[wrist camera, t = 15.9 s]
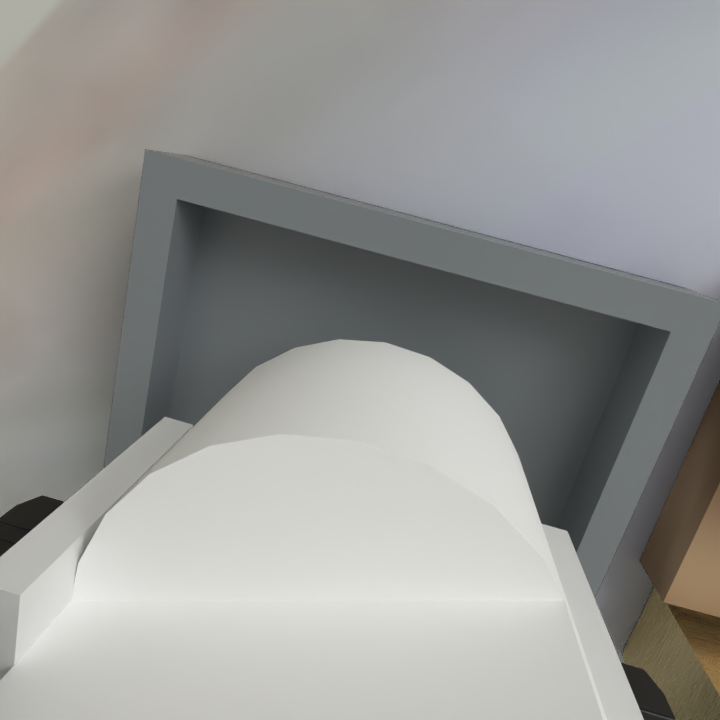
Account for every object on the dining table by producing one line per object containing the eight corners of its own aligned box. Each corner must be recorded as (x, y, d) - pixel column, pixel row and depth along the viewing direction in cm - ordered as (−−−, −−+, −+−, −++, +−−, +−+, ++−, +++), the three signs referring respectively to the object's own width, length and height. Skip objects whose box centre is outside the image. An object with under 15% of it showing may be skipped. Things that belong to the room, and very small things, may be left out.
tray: (186, 155, 17) (145, 149, 15) (683, 287, 17) (727, 303, 14) (123, 568, 22) (83, 617, 19) (514, 683, 21) (526, 749, 19)
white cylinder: (522, 328, 14) (928, 930, 3) (527, 638, 16) (750, 1658, 5) (170, 349, 15) (-612, 824, 4) (222, 635, 18) (-160, 1451, 6)
